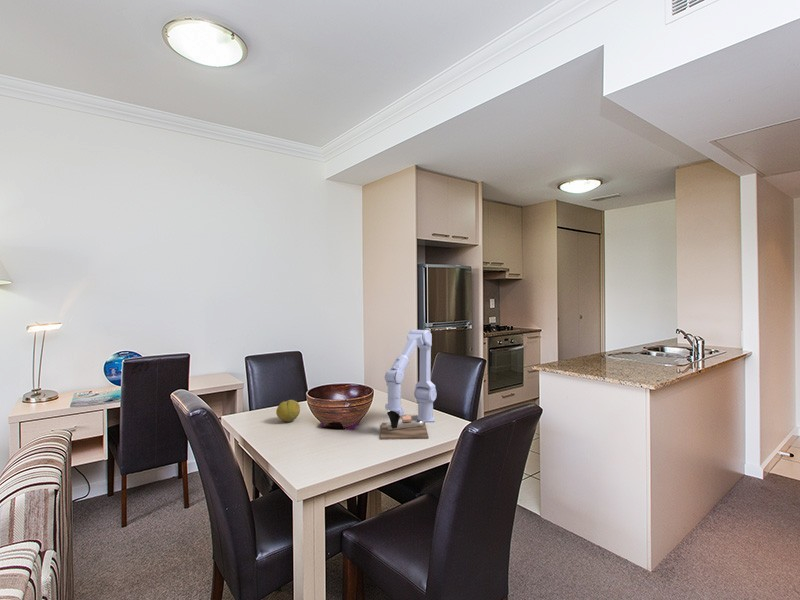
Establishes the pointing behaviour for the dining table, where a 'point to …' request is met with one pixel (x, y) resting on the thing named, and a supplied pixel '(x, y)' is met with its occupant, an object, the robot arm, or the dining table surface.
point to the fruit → (288, 410)
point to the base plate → (404, 432)
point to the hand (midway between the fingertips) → (394, 428)
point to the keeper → (408, 418)
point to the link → (406, 424)
